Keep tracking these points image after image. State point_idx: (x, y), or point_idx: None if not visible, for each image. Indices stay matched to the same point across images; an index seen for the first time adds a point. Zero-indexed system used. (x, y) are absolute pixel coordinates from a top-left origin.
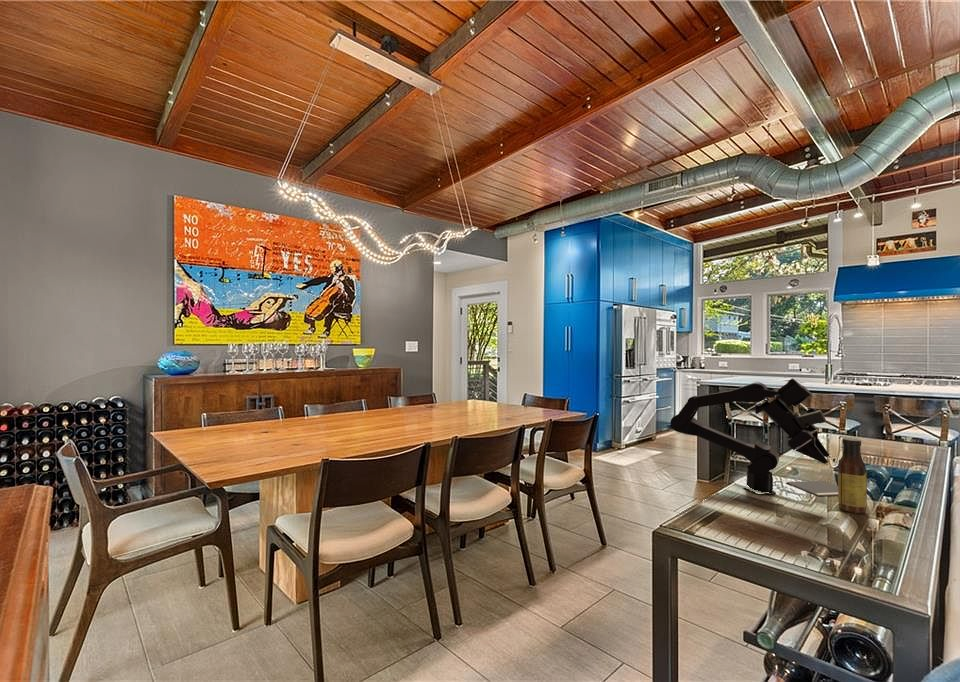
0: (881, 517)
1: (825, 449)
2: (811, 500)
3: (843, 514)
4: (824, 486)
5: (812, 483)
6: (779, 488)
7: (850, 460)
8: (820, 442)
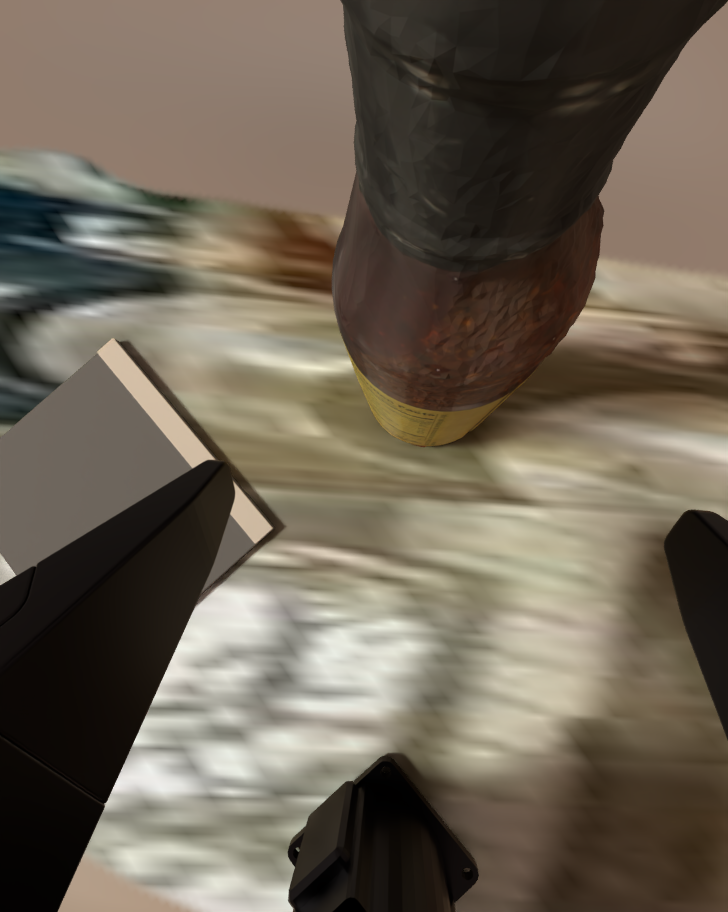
0: None
1: (159, 507)
2: (378, 566)
3: (529, 436)
4: (72, 486)
5: (44, 543)
6: (239, 726)
7: (598, 229)
8: (22, 610)
